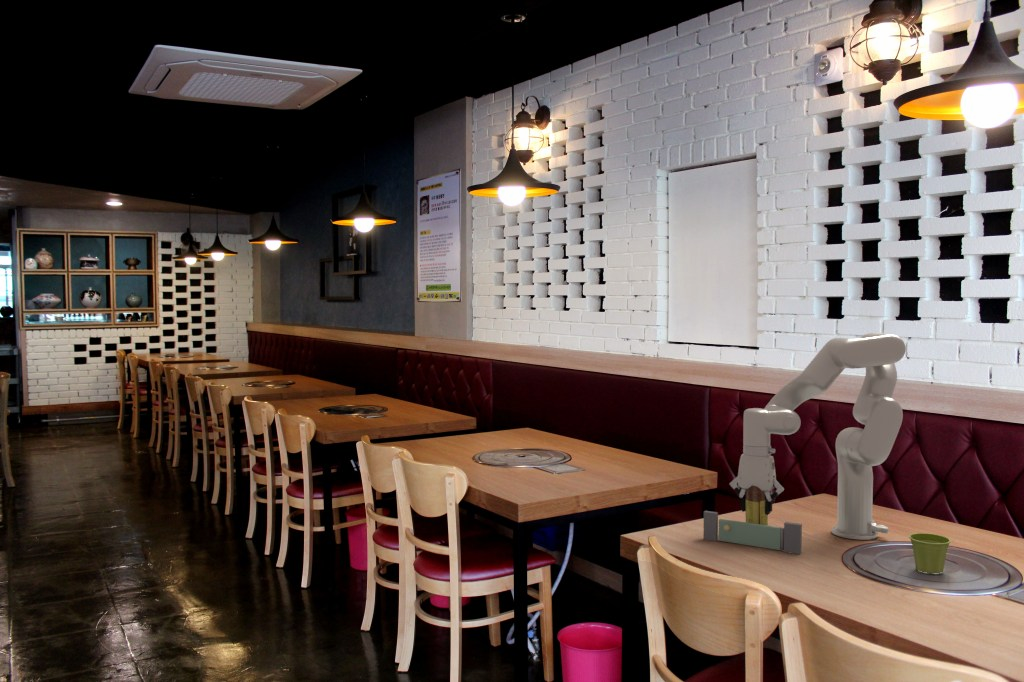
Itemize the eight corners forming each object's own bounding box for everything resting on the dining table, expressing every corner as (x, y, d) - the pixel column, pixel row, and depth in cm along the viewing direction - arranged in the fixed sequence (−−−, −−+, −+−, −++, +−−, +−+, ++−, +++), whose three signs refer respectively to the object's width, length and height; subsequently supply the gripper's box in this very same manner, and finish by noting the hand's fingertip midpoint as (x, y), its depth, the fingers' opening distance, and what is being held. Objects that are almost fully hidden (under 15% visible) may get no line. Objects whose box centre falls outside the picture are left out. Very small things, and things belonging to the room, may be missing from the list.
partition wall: (801, 553, 219) (801, 523, 219) (800, 554, 218) (800, 525, 218) (705, 537, 234) (705, 510, 234) (703, 539, 233) (703, 511, 232)
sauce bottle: (765, 531, 238) (766, 464, 237) (770, 537, 232) (771, 469, 231) (742, 530, 238) (743, 464, 238) (746, 536, 232) (747, 468, 231)
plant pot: (934, 580, 198) (935, 545, 197) (900, 569, 206) (901, 535, 206) (958, 574, 202) (959, 540, 202) (924, 563, 210) (924, 531, 210)
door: (784, 549, 222) (785, 527, 221) (782, 551, 219) (782, 530, 219) (719, 539, 231) (720, 518, 231) (717, 541, 229) (717, 520, 229)
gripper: (790, 451, 233) (789, 513, 233) (731, 446, 242) (730, 505, 243) (783, 455, 226) (783, 519, 227) (723, 450, 236) (723, 511, 236)
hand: (756, 511), depth 235 cm, fingers closed on sauce bottle, 6 cm apart
